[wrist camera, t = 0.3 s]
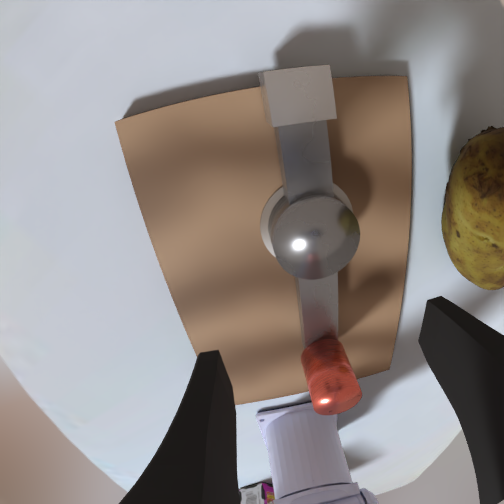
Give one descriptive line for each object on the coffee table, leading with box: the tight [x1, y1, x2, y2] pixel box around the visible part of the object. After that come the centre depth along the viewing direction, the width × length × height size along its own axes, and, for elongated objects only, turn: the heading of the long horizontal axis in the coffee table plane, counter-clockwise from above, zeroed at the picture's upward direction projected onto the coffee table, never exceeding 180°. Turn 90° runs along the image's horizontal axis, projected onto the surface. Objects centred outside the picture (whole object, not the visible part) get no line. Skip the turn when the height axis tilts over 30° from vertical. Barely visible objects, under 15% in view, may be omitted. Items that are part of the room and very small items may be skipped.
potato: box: [441, 126, 504, 290], centre depth 16 cm, size 8×13×8 cm, turn 13°
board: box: [115, 76, 412, 405], centre depth 19 cm, size 23×28×4 cm
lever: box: [258, 65, 362, 415], centre depth 16 cm, size 19×4×5 cm, turn 10°
